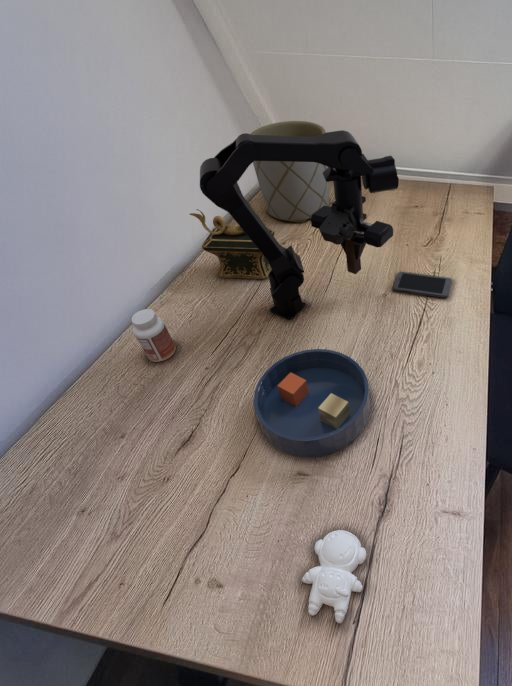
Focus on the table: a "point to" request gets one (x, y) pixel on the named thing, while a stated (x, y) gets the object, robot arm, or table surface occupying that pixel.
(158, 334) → the pill bottle
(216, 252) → the decorative box
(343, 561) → the astronaut figurine
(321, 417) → the maple block
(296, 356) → the bowl
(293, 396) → the terracotta block
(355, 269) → the dark brown wooden bar
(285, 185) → the planter
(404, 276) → the cell phone
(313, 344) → the table surface
